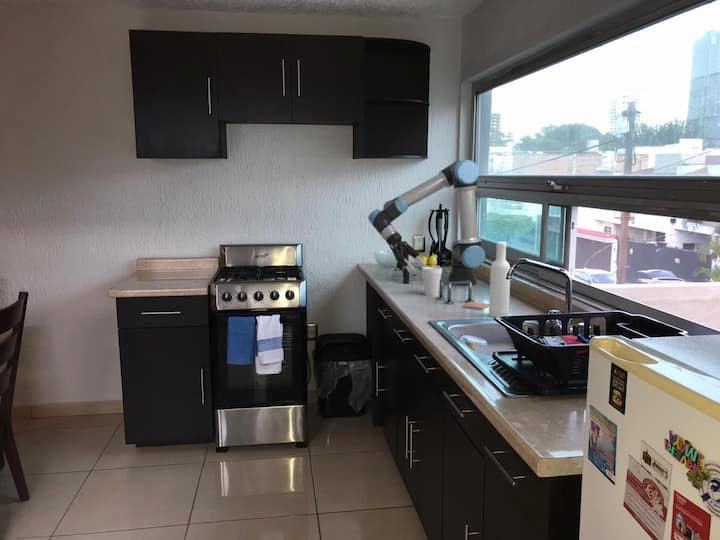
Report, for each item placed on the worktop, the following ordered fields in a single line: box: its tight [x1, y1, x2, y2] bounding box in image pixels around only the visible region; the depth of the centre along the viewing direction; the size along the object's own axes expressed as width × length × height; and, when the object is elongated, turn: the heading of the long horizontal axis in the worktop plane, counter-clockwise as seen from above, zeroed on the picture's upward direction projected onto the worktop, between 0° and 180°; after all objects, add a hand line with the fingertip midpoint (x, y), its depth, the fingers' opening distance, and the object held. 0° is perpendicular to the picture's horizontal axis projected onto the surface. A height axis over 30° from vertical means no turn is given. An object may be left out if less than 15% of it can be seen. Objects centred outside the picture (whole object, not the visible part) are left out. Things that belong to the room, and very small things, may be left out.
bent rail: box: [436, 278, 475, 305], centre depth 263 cm, size 11×18×10 cm, turn 58°
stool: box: [387, 240, 418, 285], centre depth 321 cm, size 16×21×33 cm
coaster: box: [461, 301, 489, 311], centre depth 253 cm, size 9×9×1 cm
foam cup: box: [421, 266, 443, 297], centre depth 279 cm, size 10×9×13 cm
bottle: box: [488, 241, 511, 319], centre depth 234 cm, size 8×8×30 cm
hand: (418, 269), depth 282 cm, fingers open, 13 cm apart
